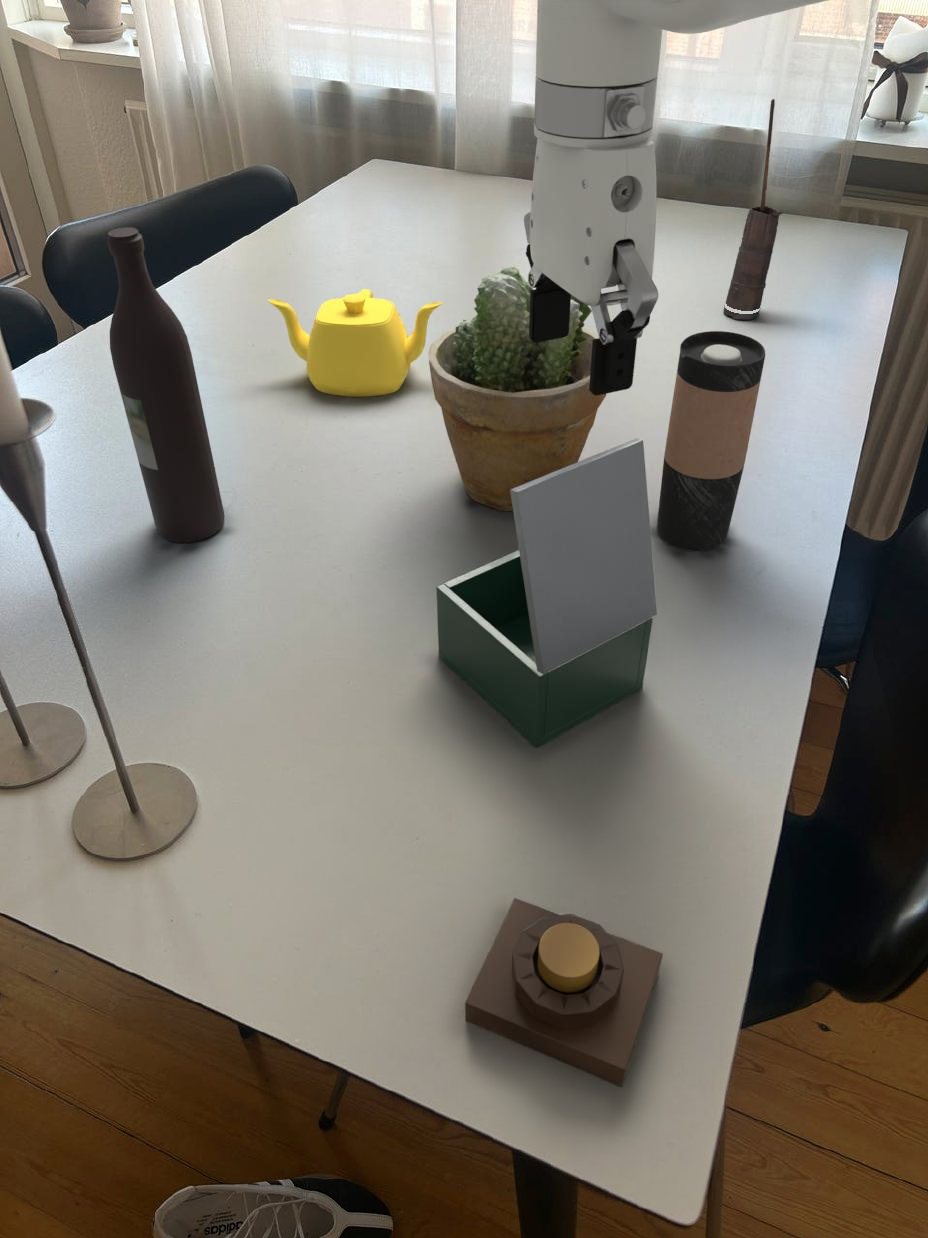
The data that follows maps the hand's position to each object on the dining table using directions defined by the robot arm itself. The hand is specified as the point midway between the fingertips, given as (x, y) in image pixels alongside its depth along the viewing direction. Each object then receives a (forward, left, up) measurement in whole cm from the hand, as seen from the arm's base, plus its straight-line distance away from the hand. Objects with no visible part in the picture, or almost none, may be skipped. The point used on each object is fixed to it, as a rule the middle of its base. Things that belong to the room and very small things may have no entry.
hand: (578, 363), depth 72 cm
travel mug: (+3, -20, -26) cm, 33 cm away
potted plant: (+21, -11, -26) cm, 35 cm away
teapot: (+55, -12, -26) cm, 62 cm away
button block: (-28, +23, -26) cm, 44 cm away
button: (-28, +23, -22) cm, 42 cm away
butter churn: (+37, -67, -26) cm, 81 cm away
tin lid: (-8, +6, -10) cm, 14 cm away
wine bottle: (+35, +21, -26) cm, 48 cm away
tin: (-4, +6, -26) cm, 26 cm away
